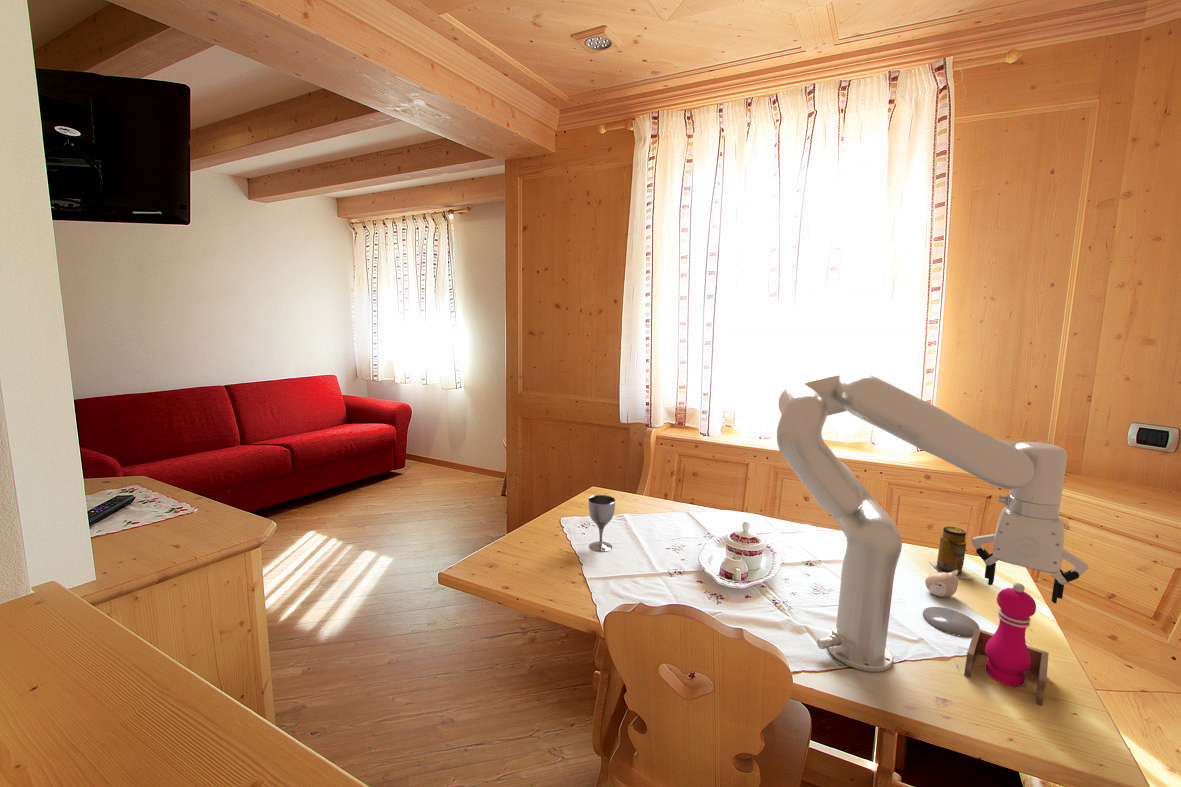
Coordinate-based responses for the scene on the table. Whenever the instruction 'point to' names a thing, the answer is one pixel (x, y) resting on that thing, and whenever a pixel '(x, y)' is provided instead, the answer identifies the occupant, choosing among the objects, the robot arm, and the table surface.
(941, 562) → the condiment
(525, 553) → the table surface
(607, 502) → the wine glass
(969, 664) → the cradle
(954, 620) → the coaster
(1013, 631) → the pepper mill
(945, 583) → the beige plush toy
